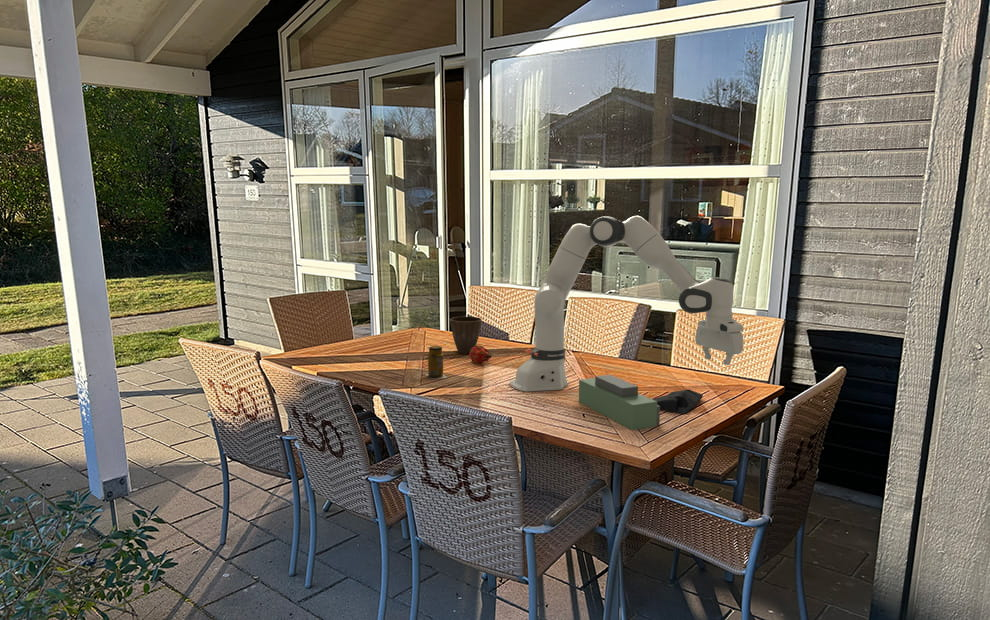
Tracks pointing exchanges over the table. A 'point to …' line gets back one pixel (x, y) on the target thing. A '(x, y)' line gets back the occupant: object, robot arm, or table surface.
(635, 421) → the block
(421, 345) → the table surface
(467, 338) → the plant pot
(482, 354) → the dragon fruit
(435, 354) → the condiment
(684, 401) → the black crumpled cloth
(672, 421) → the table surface
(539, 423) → the table surface
